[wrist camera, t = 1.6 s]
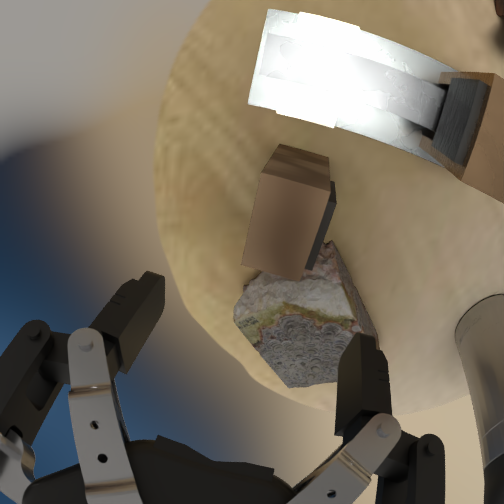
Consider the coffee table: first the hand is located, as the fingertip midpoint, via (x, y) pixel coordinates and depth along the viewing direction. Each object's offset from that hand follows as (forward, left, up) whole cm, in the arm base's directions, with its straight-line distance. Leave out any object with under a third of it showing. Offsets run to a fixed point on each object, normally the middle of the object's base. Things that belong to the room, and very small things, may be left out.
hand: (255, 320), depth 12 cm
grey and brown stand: (-5, -10, -16) cm, 19 cm away
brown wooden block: (0, 0, -16) cm, 16 cm away
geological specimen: (-6, +13, -16) cm, 21 cm away
